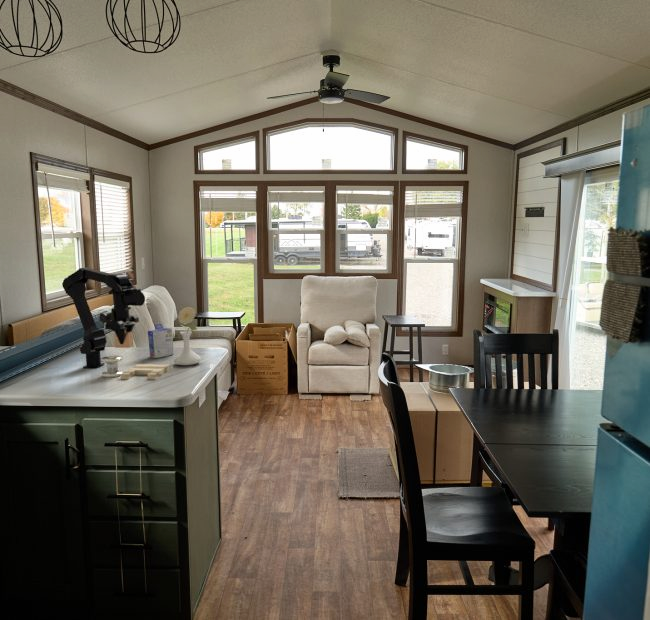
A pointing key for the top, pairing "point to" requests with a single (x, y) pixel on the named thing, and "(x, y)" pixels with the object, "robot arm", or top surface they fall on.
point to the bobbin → (112, 366)
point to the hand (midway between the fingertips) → (124, 343)
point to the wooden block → (127, 341)
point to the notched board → (146, 370)
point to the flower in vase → (187, 338)
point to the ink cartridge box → (160, 342)
